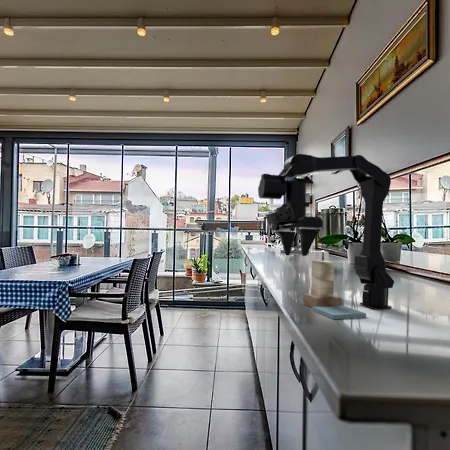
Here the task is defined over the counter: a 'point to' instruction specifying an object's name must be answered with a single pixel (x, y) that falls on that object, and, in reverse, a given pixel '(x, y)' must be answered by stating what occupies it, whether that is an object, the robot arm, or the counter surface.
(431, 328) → the counter surface
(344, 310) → the teal mat
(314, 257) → the beer glass
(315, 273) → the maple block
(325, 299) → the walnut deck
